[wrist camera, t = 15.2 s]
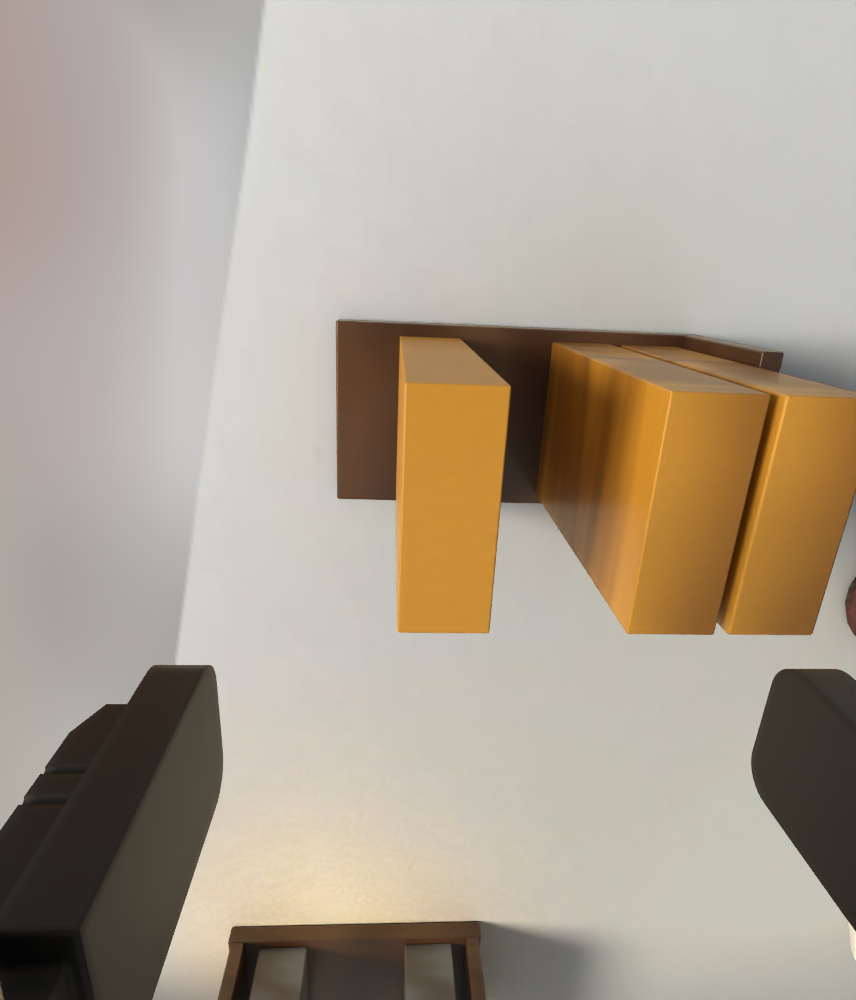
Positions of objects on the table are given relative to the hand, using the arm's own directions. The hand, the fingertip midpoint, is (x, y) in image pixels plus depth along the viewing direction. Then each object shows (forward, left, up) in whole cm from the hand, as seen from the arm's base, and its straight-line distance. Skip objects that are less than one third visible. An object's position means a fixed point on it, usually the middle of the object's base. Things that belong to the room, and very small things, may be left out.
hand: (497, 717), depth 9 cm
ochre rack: (+4, 0, -21) cm, 21 cm away
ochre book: (0, 0, -20) cm, 20 cm away
